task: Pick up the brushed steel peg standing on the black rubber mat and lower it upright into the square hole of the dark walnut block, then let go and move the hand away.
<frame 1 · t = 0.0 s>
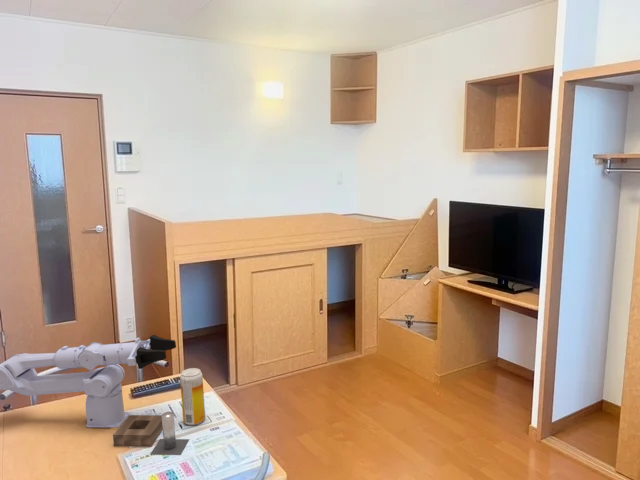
hand: (170, 349, 138), 22 cm above the table, tool horizontal, fingers open, 7 cm apart
walnut block: (140, 436, 134), on the table
rubber mat: (170, 447, 129), on the table
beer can: (194, 422, 141), on the table
steel peg: (170, 446, 129), resting on rubber mat
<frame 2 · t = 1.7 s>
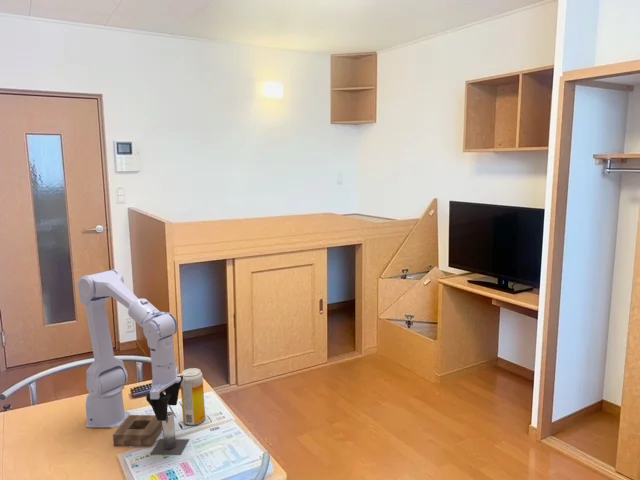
hand: (167, 412, 127), 10 cm above the table, tool pointing down, fingers open, 7 cm apart
nothing on the table moved.
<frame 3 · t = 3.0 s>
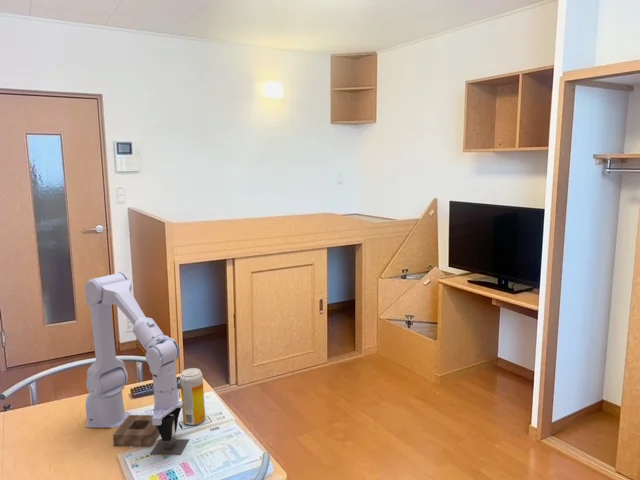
hand: (169, 436, 128), 3 cm above the table, tool pointing down, fingers closed on steel peg, 3 cm apart
steel peg: (170, 446, 129), resting on rubber mat, touching gripper
everything else where it was.
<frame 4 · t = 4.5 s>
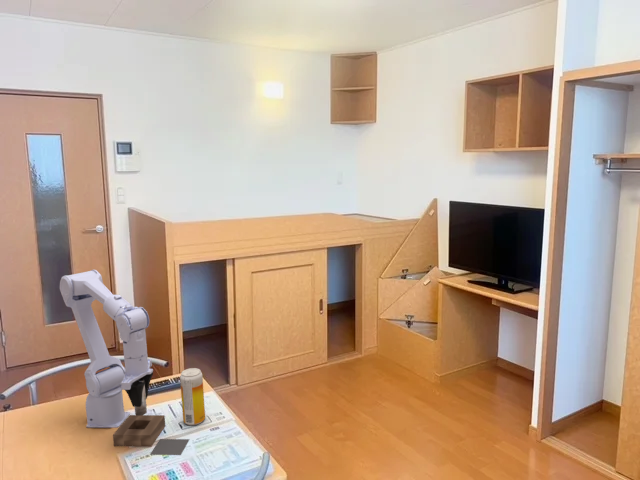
hand: (139, 402, 132), 10 cm above the table, tool pointing down, fingers closed on steel peg, 3 cm apart
steel peg: (141, 412, 132), point 7 cm above the table, touching gripper
everything else where it was.
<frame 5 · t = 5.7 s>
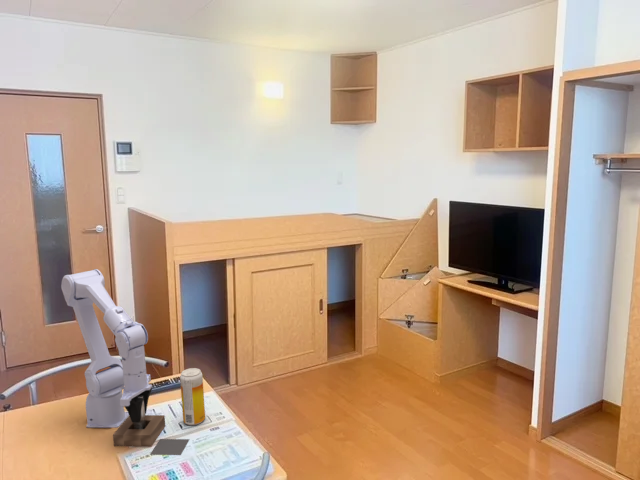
hand: (138, 418, 133), 5 cm above the table, tool pointing down, fingers closed on steel peg, 3 cm apart
steel peg: (140, 428, 134), point 3 cm above the table, touching gripper
everything else where it was.
when the fingers open (5 cm above the table, at t = 6.2 s): steel peg drops 2 cm, resting in walnut block.
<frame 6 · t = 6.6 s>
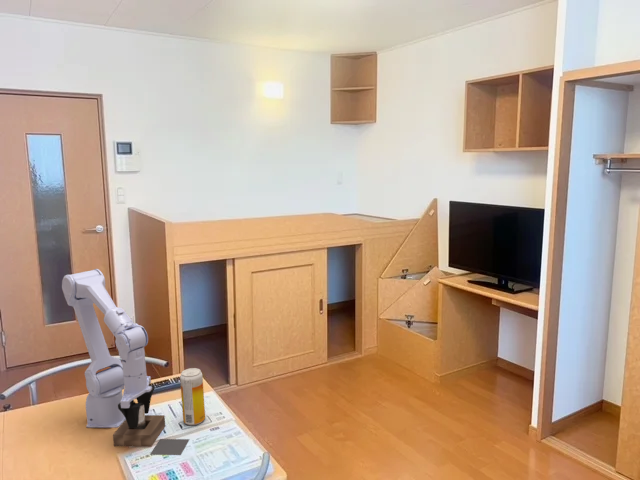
hand: (139, 419, 133), 5 cm above the table, tool pointing down, fingers open, 7 cm apart
steel peg: (140, 436, 134), resting in walnut block
everything else where it was.
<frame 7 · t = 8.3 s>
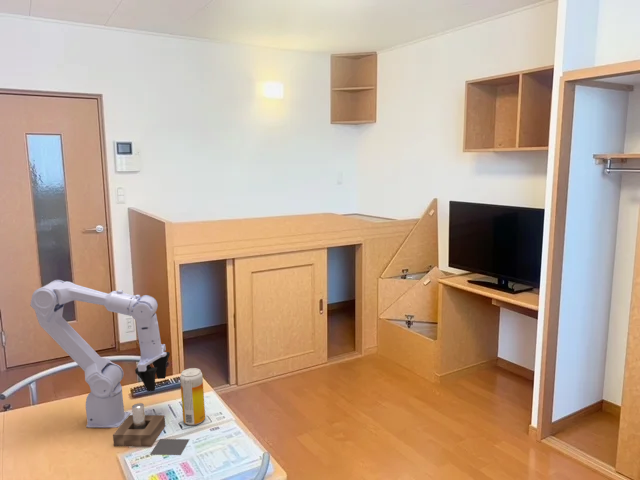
hand: (156, 384, 142), 10 cm above the table, tool pointing down, fingers open, 7 cm apart
nothing on the table moved.
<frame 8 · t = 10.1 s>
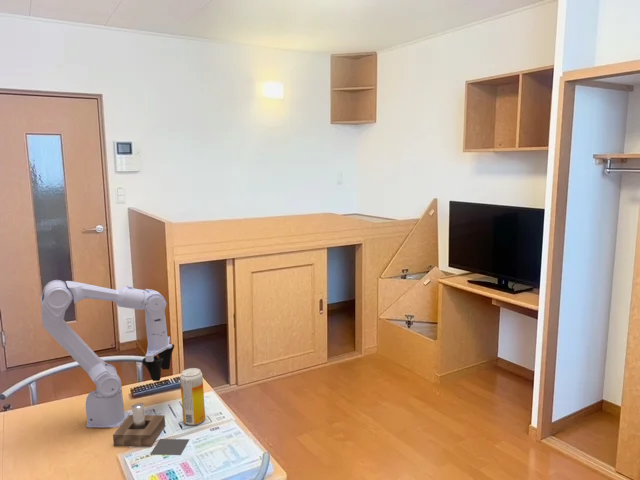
hand: (161, 374, 148), 10 cm above the table, tool pointing down, fingers open, 7 cm apart
nothing on the table moved.
at the end: steel peg 0.1 cm off-centre on the walnut block, point 0.0 cm above the walnut block's base; steel peg tilted 0°; the gripper is holding nothing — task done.
